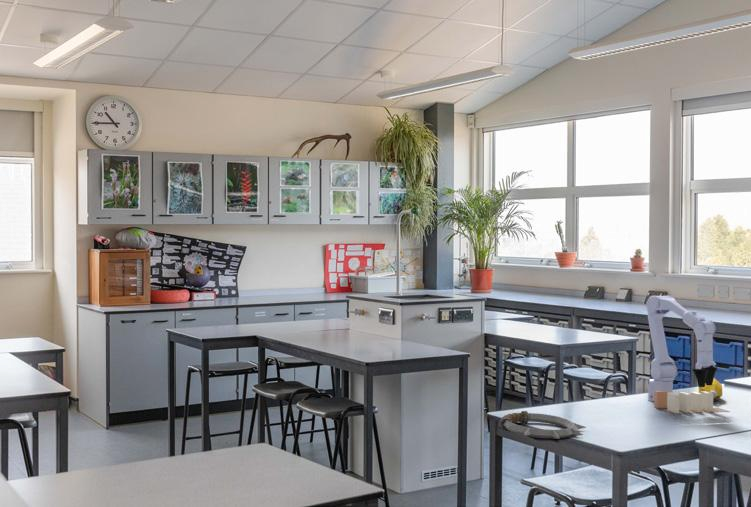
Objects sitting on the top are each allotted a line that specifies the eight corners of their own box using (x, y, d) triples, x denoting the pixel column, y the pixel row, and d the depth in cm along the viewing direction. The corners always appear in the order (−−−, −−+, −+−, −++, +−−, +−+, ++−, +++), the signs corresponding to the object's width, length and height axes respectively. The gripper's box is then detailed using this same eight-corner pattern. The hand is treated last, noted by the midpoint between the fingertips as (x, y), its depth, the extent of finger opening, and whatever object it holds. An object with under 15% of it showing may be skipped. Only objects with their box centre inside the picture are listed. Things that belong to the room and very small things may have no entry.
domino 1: (668, 409, 334) (668, 391, 334) (657, 409, 333) (657, 391, 333) (665, 408, 336) (665, 390, 336) (654, 408, 335) (654, 391, 335)
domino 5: (708, 411, 328) (708, 393, 328) (700, 409, 333) (700, 391, 332) (712, 411, 328) (713, 393, 328) (704, 408, 333) (705, 391, 333)
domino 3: (685, 412, 325) (686, 394, 325) (678, 409, 330) (678, 392, 330) (690, 412, 326) (690, 394, 326) (682, 409, 331) (683, 391, 330)
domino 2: (674, 412, 324) (675, 394, 324) (666, 410, 329) (667, 392, 329) (679, 412, 325) (679, 394, 324) (671, 409, 329) (672, 392, 329)
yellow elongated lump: (707, 411, 342) (696, 389, 344) (701, 398, 371) (691, 377, 372) (731, 402, 340) (720, 379, 341) (723, 389, 368) (713, 369, 369)
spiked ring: (480, 432, 287) (562, 450, 269) (481, 419, 287) (563, 436, 269) (525, 417, 314) (602, 432, 296) (526, 405, 314) (603, 420, 296)
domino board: (672, 415, 322) (672, 413, 322) (660, 411, 330) (660, 409, 330) (730, 413, 329) (730, 411, 328) (717, 409, 336) (717, 407, 336)
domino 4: (697, 412, 327) (697, 394, 326) (689, 409, 331) (689, 391, 331) (701, 411, 327) (702, 394, 327) (693, 409, 332) (694, 391, 332)
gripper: (708, 353, 322) (708, 388, 322) (722, 350, 333) (722, 385, 333) (690, 352, 327) (690, 387, 327) (704, 349, 338) (704, 383, 337)
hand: (705, 386), depth 330 cm, fingers open, 7 cm apart
